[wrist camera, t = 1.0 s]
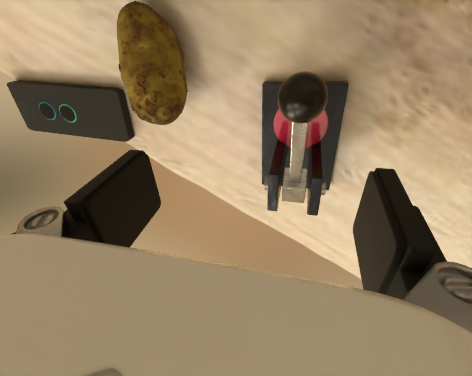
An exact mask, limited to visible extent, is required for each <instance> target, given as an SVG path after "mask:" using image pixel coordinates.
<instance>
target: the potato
mask: <svg viewBox="0 0 472 376" xmlns="http://www.w3.org/2000/svg"><path fill="white" fill-rule="evenodd" d="M117 39H118V50H119V61H120V64H119V70H120V72H121V78H122V81H123V83H124V85H125V87H126V89H127V94H128V98H129V101H130V104H131V107H132V110H133V111H135V113H136V114H137V116H138V117H139V118H140V119H142V120H145V121H147V122H149V123H153V124H158V125H166V124H169V123H172V122H173V121H174V120H176V119H177V118H178V116H179V115H180V114H181V113H182V111H183V109H184V105H185V102H186V96H187V92H188V90H187V84H186V77H185V73H184V60H183V54H182V51H181V48H180V45H179V43H178V40H177V38H176V36H175V34H174V32H173V31H172V29H171V28H170V26H169V25H168V24H167V22H166V21H165V20H164V19H163V18H162V17H161V16H160V15H159V14H158V13H156V12H155V11H154V10H153V9H152V8H151V7H150V6H148V5H146V4H144V3H140V2H136V1H134V2H131V3H129V4H127V5H125V6H124V7H123V8H122V9H121V11H120V12H119V15H118V20H117Z"/></svg>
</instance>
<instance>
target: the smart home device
mask: <svg viewBox="0 0 472 376" xmlns="http://www.w3.org/2000/svg"><path fill="white" fill-rule="evenodd" d="M7 86H8V88H9V90H10V92H11V94H12V96H13V98H14V100H15V102H16V105H17V107H18V108H19V110H20V112H21V115H22V117H23V119H24V121H25V123H26V125H27V127H28V128H29V129H31V130H35V131H42V132H50V133H59V134H67V135H75V136H83V137H91V138H100V139H108V140H115V141H124V142H125V141H129V140H130V139H132V138H133V137H134V132H133V128H132V124H131V119H130V115H129V111H128V107H127V102H126V98H125V94H124V91H123V90H122V89H120V88H115V87H102V86H89V85H76V84H63V83H50V82H37V81H25V80H17V81H13V82H9V83H7Z"/></svg>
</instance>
